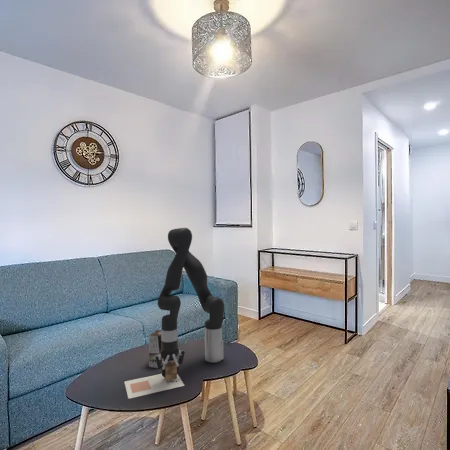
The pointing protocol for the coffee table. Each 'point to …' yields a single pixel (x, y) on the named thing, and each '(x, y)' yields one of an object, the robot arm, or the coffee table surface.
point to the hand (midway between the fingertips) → (170, 374)
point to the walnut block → (170, 371)
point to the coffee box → (154, 348)
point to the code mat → (150, 385)
